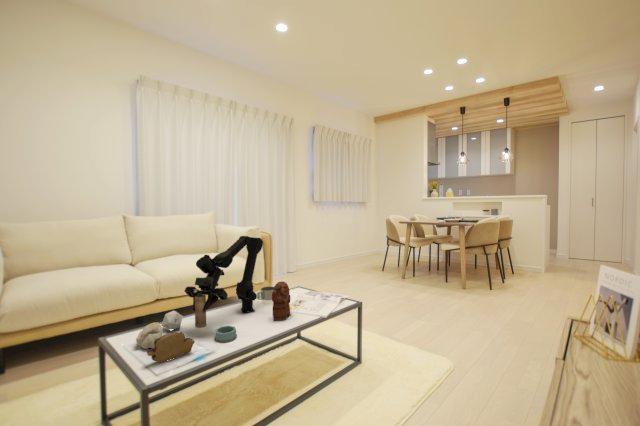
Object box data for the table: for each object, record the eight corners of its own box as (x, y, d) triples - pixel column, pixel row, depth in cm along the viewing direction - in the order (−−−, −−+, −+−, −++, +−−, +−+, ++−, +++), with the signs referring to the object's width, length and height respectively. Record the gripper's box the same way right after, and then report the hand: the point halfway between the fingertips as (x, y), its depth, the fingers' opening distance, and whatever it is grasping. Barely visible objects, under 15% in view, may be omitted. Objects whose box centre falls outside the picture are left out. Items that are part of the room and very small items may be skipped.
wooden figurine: (282, 322, 154) (282, 285, 154) (271, 320, 156) (270, 284, 156) (292, 314, 166) (292, 279, 165) (281, 312, 168) (281, 278, 167)
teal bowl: (213, 335, 140) (213, 327, 140) (235, 332, 144) (234, 324, 143) (215, 344, 131) (215, 335, 131) (238, 340, 135) (238, 331, 135)
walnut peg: (195, 324, 141) (194, 292, 140) (205, 323, 143) (205, 290, 142) (195, 328, 137) (194, 294, 136) (206, 326, 139) (205, 293, 138)
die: (158, 334, 143) (168, 319, 140) (158, 319, 149) (167, 305, 147) (177, 336, 148) (186, 321, 145) (175, 321, 154) (185, 307, 152)
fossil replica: (143, 354, 124) (168, 347, 132) (146, 333, 124) (170, 327, 132) (129, 343, 131) (154, 337, 139) (131, 323, 131) (156, 318, 139)
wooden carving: (190, 349, 127) (189, 324, 127) (195, 353, 124) (194, 327, 124) (145, 365, 116) (144, 337, 115) (149, 369, 112) (148, 341, 112)
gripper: (186, 268, 145) (170, 300, 135) (223, 270, 140) (210, 303, 130) (197, 281, 153) (182, 312, 143) (233, 283, 148) (220, 315, 138)
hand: (198, 310), depth 138 cm, fingers closed on walnut peg, 4 cm apart
